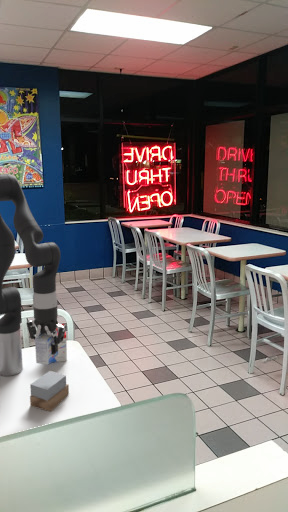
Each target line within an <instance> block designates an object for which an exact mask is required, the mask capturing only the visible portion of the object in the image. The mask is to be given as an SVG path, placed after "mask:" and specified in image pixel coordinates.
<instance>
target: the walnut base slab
mask: <svg viewBox="0 0 288 512" xmlns="http://www.w3.org/2000/svg"><path fill="white" fill-rule="evenodd" d="M69 386H70V385H69V384H67V383H66V387H64V388H63V389H62V390H61V391H59V392H58V393H57V394H56V395H54V396H53V397H52V398H51V399H49V400H48V401H47V400H44V399H41V398H38V397H35V396H32V395H31V394H30V395H29V399H30V401H29V402H30V407H33V408H37V409H41V410H45V411H48V412H52V411H53V410H54V409H55V408H56V407H57V406H58V405H59V404H60V403H61V402H62V401H63V400H64V399H65V398H66V397H67V396H68V395H69V394H70V393H69V391H70V390H69Z"/></svg>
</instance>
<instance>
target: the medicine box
mask: <svg viewBox="0 0 288 512" xmlns="http://www.w3.org/2000/svg"><path fill="white" fill-rule="evenodd" d="M52 334H53V333H52ZM51 344H52V343H51V339H50V338H49V337H48V335H47V334H41V335H40V336H39V337H38V338H36V339H35V340H34V345H35V346H34V348H35V362H36V364H39V365H40V364H41V365H48V366H49V365H50V363H52V362H51V361H52V360H53V359H54V358H55V357H56V356H57V354H58V352H57V353H56V354H54V355H52V352H51Z"/></svg>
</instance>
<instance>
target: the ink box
mask: <svg viewBox="0 0 288 512" xmlns="http://www.w3.org/2000/svg"><path fill="white" fill-rule="evenodd" d="M58 324H59V325H62V326H63V325H65V326H66V324H65V323H58ZM56 331H57V336H58V329H57V328H56ZM67 347H68V346H67V332H66V330H65V335H64V339H63V341H62V342H60V343H59V344H58V354H57V356H56V357H55V358H54V359H53V360H52V361H51V362H50V363H57V362H58V363H59V362H65V361H66V362H67V361H68V360H67V359H68V356H67V355H68V353H67V350H68V349H67Z"/></svg>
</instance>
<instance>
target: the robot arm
mask: <svg viewBox="0 0 288 512" xmlns="http://www.w3.org/2000/svg"><path fill="white" fill-rule="evenodd" d="M9 201H11V202H12V203H13V204H14V206H15V209H14V214H13V221H12V222H13V226H14V229H15V232H16V233H17V235H18V236H19V238H20V240H21V242H22V246H23V250H24V254H25V260H26V262H27V263H28V264H29V265H30V266H31V267H34V268H39V267H43V268H42V269H41V270H40V271H38V272H36V273H35V274H34V275H33V277H32V286H33V287H32V289H33V295H32V302H33V303H32V304H33V305H32V306H33V318H34V319H30V320H29V321H27V322H26V327H27V331H28V335H29V338H30V339H31V340H34V341H35V339H36V338H38V337H39V336H40V335H41V334H47V335H48V337H49V338H50V339H51V343H52V344H51V352H52V355H54V354H56V353H57V352H58V344H59V343H60V342H62V341H63V339H64V335H65V331H66V330H67V326H66V324H65V325H63V326H62V325H59V324H60V323H59V322H58V314H59V313H58V295H57V287H56V285H57V281H56V278H57V274H58V270H59V266H60V261H61V250H60V247H59V246H58V244H56V243H55V242H54V241H53V242H52V241H51V242H44V243H43V242H42V240H43V239H44V233H43V230H42V229H41V227H40V226H39V224H38V222H37V221H36V219H35V217H34V216H33V213H32V211H31V209H30V207H29V204H28V202H27V199H26V196H25V194H24V190H23V187H22V186H21V184H20V182H19V179H18V178H17V177H16V176H15V175H14V174H9V173H8V174H7V173H3V174H2V173H1V174H0V202H9ZM40 242H42V243H40ZM15 256H16V242H15V236H14V233H13V232H12V230H11V228H9V226H8V225H7V223H6V222H5V220H4V218H3V217H2V215H1V213H0V316H1V315H2V317H1V318H0V375H1V376H5V377H7V376H8V377H9V376H10V377H11V376H15V375H17V374H19V373H21V372H22V371H23V369H24V368H23V367H24V366H23V349H22V333H21V332H22V331H21V323H22V298H21V297H22V296H21V294H20V291H19V290H18V289H17V288H16V287H15V286H9V287H6V288H5V287H4V288H3V283H4V279H5V276H6V274H7V273H8V270H9V269H10V268H11V265H12V264H13V262H14V260H15ZM56 328H57V329H58V336H57V331H56ZM52 333H53V334H52Z"/></svg>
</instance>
